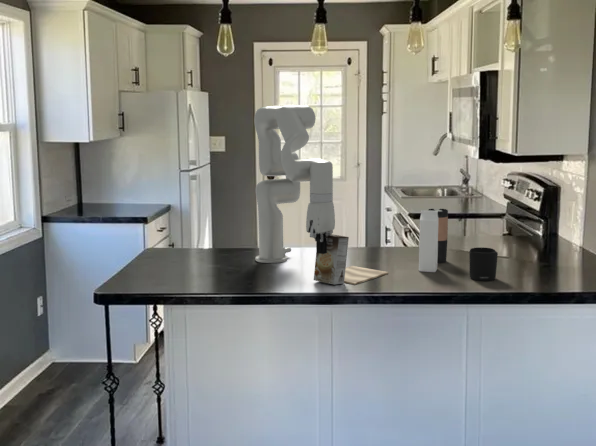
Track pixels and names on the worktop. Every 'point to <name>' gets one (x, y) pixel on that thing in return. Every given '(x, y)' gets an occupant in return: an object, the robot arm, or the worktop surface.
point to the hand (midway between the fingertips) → (321, 253)
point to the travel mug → (442, 234)
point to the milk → (428, 241)
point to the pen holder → (483, 264)
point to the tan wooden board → (361, 274)
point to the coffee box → (332, 261)
